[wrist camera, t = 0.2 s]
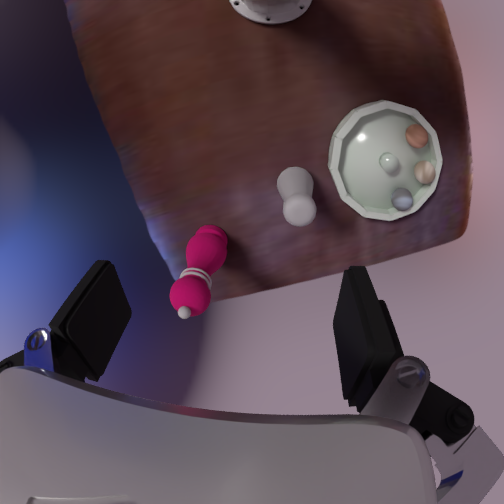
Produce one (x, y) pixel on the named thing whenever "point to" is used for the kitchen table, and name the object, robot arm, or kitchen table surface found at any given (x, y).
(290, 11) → the robot arm
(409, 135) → the bead terracotta
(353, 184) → the tray
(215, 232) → the pepper mill
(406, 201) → the dusty blue bead
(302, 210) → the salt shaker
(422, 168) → the bead cream
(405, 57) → the kitchen table surface
